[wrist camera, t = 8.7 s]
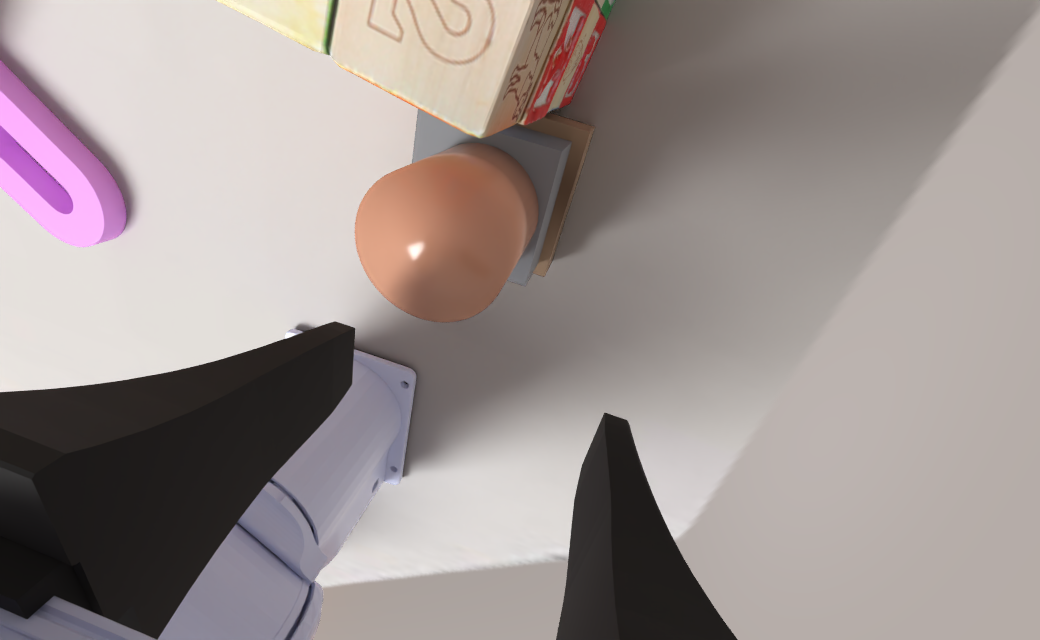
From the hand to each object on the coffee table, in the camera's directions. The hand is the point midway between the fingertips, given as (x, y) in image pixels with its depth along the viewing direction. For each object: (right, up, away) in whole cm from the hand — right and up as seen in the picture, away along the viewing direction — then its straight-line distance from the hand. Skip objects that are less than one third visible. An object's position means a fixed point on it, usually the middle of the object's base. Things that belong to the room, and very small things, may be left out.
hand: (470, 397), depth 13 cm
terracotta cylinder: (0, +6, +4) cm, 7 cm away
